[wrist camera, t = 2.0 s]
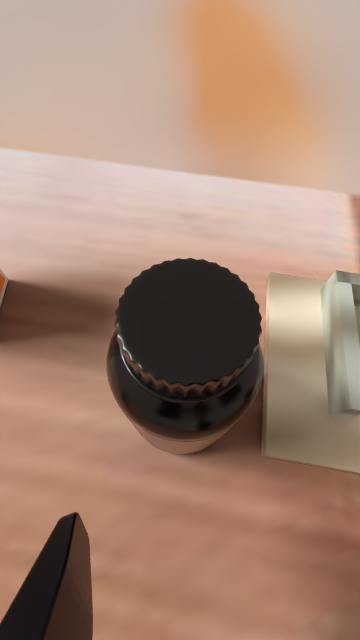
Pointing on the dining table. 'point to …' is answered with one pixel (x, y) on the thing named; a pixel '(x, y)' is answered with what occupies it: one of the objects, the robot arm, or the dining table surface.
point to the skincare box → (2, 285)
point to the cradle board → (312, 371)
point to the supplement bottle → (185, 353)
